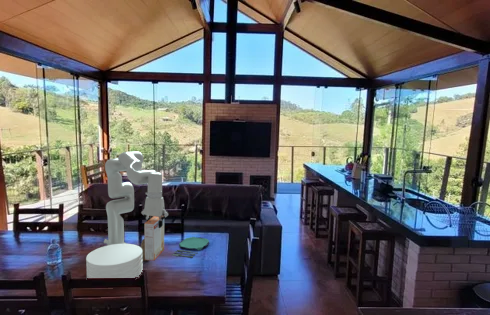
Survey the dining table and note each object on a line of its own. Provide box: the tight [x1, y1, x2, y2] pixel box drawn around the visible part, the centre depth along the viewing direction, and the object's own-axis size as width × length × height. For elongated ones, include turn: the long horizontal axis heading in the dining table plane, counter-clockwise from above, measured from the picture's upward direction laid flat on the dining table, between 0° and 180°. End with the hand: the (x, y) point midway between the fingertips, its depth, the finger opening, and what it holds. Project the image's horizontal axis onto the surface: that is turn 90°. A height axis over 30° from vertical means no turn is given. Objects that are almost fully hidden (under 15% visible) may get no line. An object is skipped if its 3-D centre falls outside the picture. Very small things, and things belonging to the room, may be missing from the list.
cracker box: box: [144, 216, 165, 261], centre depth 168 cm, size 14×6×21 cm, turn 173°
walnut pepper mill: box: [140, 236, 150, 263], centre depth 182 cm, size 5×5×14 cm
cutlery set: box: [171, 236, 210, 259], centre depth 202 cm, size 20×30×2 cm, turn 164°
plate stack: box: [85, 243, 144, 279], centre depth 165 cm, size 28×28×12 cm
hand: (154, 226), depth 167 cm, fingers closed on cracker box, 6 cm apart
